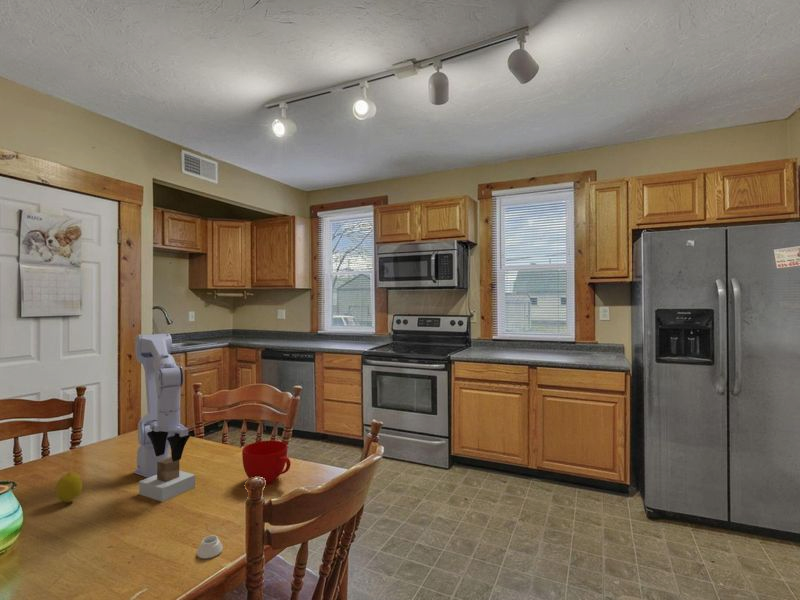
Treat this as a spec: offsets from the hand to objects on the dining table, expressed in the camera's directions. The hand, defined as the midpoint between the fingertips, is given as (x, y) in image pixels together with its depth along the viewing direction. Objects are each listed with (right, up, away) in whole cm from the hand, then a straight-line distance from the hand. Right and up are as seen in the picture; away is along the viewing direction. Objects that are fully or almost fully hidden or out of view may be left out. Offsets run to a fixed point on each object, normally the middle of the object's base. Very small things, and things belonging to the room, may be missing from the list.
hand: (168, 457), depth 118 cm
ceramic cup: (+27, -10, +6) cm, 29 cm away
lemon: (-22, -9, -8) cm, 25 cm away
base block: (0, -10, 0) cm, 10 cm away
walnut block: (0, -6, 0) cm, 6 cm away
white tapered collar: (+25, -10, -29) cm, 39 cm away
